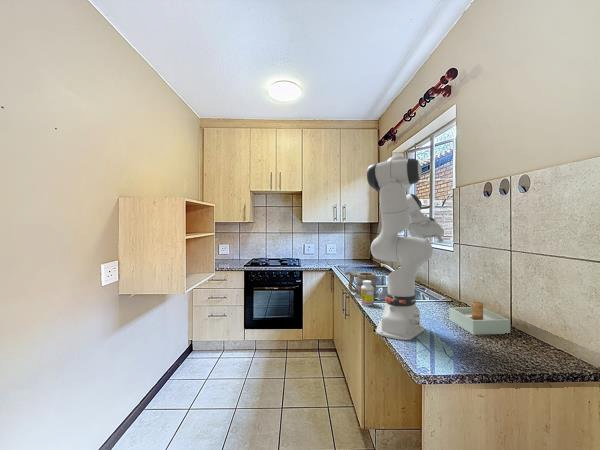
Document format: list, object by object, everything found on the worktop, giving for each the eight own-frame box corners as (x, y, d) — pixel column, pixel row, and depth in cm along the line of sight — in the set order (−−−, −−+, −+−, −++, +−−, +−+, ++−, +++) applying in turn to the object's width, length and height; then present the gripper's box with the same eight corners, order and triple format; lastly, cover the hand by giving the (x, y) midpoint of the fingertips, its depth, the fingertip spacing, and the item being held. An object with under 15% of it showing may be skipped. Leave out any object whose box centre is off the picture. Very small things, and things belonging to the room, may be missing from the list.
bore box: (510, 333, 117) (510, 319, 117) (473, 334, 116) (473, 320, 116) (481, 318, 135) (481, 306, 135) (449, 319, 134) (449, 307, 134)
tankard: (380, 295, 180) (379, 271, 179) (373, 300, 169) (372, 274, 169) (349, 292, 191) (349, 269, 190) (341, 296, 180) (341, 272, 180)
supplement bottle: (359, 302, 165) (359, 280, 165) (371, 302, 165) (370, 279, 165) (363, 306, 158) (363, 282, 158) (375, 305, 159) (374, 282, 159)
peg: (483, 328, 123) (482, 304, 123) (472, 326, 125) (471, 303, 125) (483, 325, 126) (483, 302, 126) (472, 324, 128) (472, 301, 128)
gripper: (407, 219, 151) (422, 239, 142) (436, 218, 159) (452, 237, 150) (401, 227, 155) (415, 247, 146) (430, 226, 163) (445, 245, 154)
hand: (434, 242), depth 148 cm, fingers open, 8 cm apart
